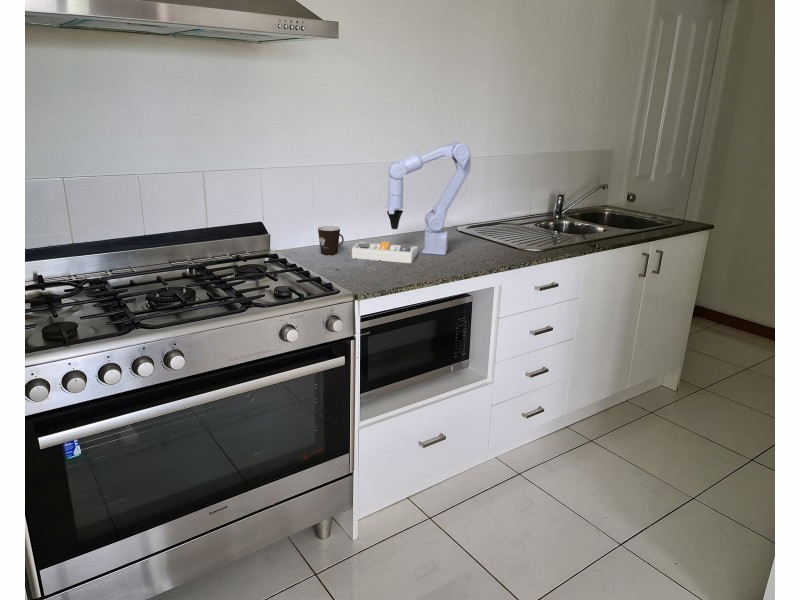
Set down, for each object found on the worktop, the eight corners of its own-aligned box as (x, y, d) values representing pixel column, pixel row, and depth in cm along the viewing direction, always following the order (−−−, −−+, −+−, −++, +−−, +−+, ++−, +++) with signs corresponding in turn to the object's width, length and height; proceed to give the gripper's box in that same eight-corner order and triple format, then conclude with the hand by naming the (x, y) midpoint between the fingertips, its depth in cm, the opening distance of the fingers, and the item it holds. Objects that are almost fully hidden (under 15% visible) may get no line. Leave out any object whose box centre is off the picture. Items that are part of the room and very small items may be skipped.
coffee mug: (315, 251, 227) (315, 226, 223) (336, 249, 230) (336, 225, 227) (323, 259, 217) (323, 233, 213) (345, 257, 220) (345, 231, 217)
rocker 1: (369, 248, 224) (369, 243, 224) (365, 248, 218) (366, 244, 218) (361, 247, 224) (361, 243, 224) (357, 247, 219) (357, 243, 218)
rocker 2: (410, 247, 221) (410, 243, 220) (407, 254, 216) (407, 250, 215) (402, 247, 222) (402, 243, 221) (399, 254, 217) (398, 250, 216)
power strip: (417, 253, 228) (417, 244, 227) (411, 263, 215) (411, 252, 214) (361, 249, 232) (361, 239, 231) (351, 258, 219) (351, 248, 218)
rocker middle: (389, 245, 223) (389, 241, 222) (386, 253, 218) (386, 249, 217) (381, 244, 223) (381, 241, 222) (378, 252, 218) (378, 249, 217)
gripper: (389, 190, 229) (388, 224, 234) (381, 196, 216) (380, 232, 221) (406, 192, 228) (405, 225, 233) (399, 197, 215) (398, 233, 219)
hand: (394, 228), depth 227 cm, fingers closed
